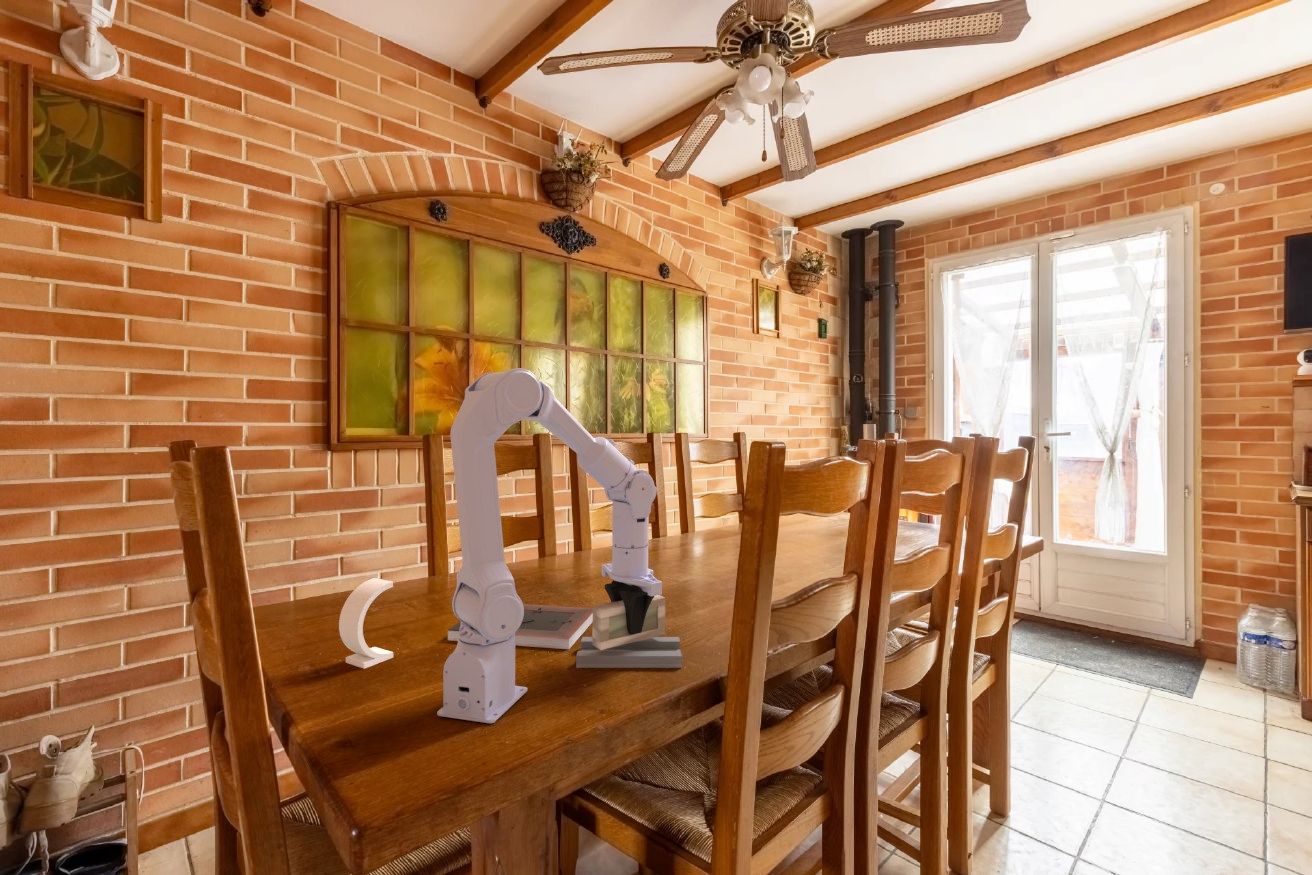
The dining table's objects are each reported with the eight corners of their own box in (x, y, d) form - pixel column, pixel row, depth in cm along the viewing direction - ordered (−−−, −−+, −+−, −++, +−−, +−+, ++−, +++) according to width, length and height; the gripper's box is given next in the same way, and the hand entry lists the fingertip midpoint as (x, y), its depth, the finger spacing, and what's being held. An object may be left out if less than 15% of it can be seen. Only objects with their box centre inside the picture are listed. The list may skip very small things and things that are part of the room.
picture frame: (447, 643, 100) (568, 652, 96) (447, 629, 100) (568, 637, 96) (491, 613, 116) (596, 620, 112) (491, 600, 116) (596, 607, 112)
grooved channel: (681, 667, 89) (681, 656, 89) (576, 667, 88) (576, 655, 88) (679, 647, 97) (679, 636, 97) (582, 647, 96) (582, 636, 96)
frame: (664, 634, 95) (665, 597, 95) (600, 650, 88) (601, 610, 88) (655, 629, 97) (656, 593, 97) (592, 644, 90) (592, 606, 90)
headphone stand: (393, 657, 92) (393, 581, 92) (357, 671, 87) (357, 591, 87) (375, 651, 94) (374, 577, 94) (339, 664, 89) (338, 586, 89)
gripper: (678, 549, 89) (677, 638, 89) (626, 535, 100) (626, 613, 101) (640, 555, 84) (639, 648, 85) (590, 539, 96) (590, 621, 96)
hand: (629, 630), depth 92 cm, fingers closed on frame, 2 cm apart
